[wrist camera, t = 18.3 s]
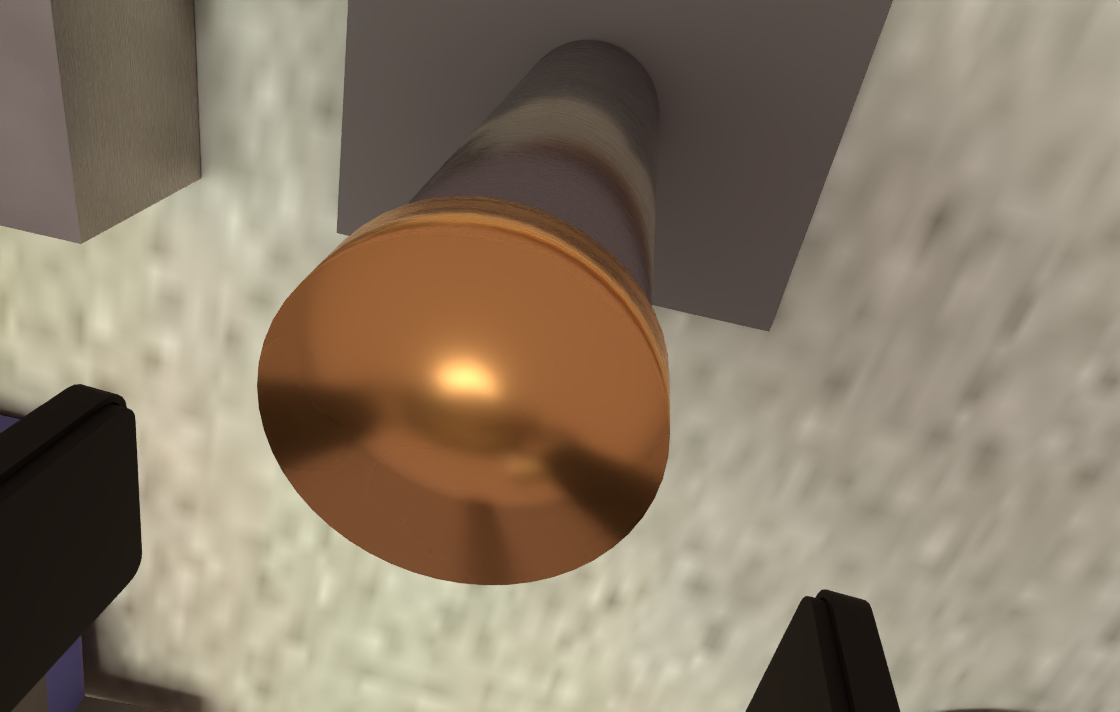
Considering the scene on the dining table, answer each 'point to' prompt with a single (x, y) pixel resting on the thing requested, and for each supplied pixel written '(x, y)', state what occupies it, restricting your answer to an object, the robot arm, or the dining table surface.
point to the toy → (66, 676)
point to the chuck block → (94, 111)
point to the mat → (684, 117)
